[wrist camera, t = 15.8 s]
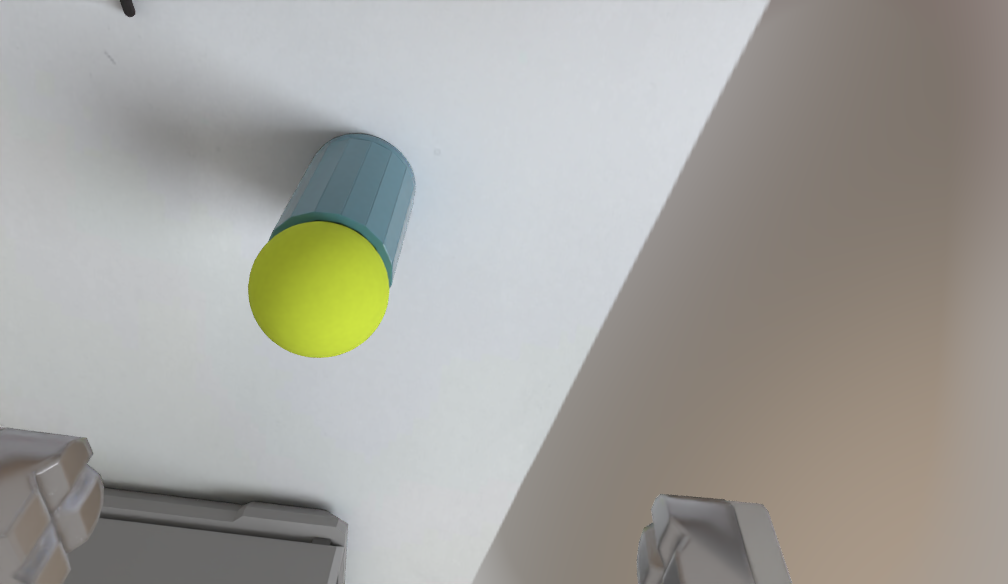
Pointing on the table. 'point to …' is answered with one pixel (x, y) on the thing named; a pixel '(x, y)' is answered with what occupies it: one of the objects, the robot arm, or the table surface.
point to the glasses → (128, 7)
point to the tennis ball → (318, 289)
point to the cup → (357, 193)
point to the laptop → (208, 543)
